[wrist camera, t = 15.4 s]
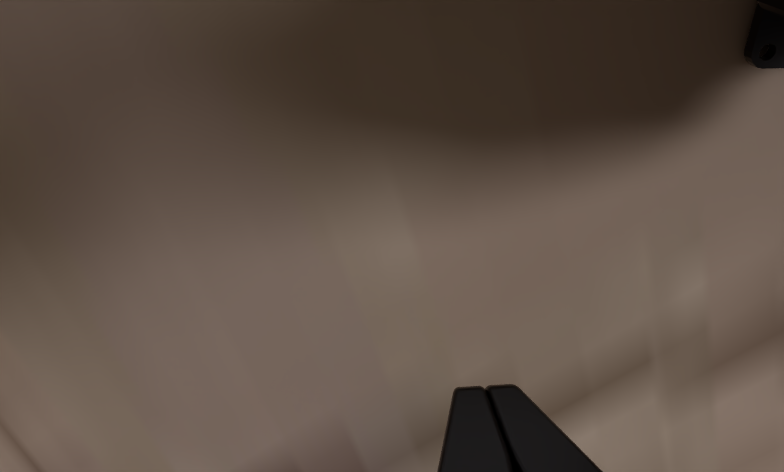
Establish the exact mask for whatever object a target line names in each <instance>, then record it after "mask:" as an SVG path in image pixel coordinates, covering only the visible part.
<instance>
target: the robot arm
mask: <svg viewBox="0 0 784 472" xmlns="http://www.w3.org/2000/svg"><path fill="white" fill-rule="evenodd" d="M757 1H758V4H757V7H756V11H755V14H754V18H753V21H752V25H751V28H750V32H749V36H748V39H747V43H746V46H745V51H744V56H745V59H746V61H747V62H749V63H750V64H752V65H754V66H755V67H758V68H763V69H764V68H784V0H757ZM767 44H769V45H768V50H767V52H766V53H765V54H764V55H763V56H760V57H759V54H760V51H761V49H762V48H763V47H764V46H765V45H767ZM437 472H602V471H601V470H600V469H599V468H598V467H597V466H596V465H595V464H594V463H593V462H592V461H591V460H590V459H589V458H588V457H587V456H586V455H585V454H584V453H583V452H582V451H581V449H580V448H579V447H578V446H577V445H576V444H575V443H574V442H573V441H572V440H571V439H570V438H569V437H568V436H567V435H566V434H565V433H564V432H563V431H562V430H561V429H560V428H559V427H558V426H557V425H556V424H555V423H554V422H553V421H552V420H551V419H550V418H549V417H548V416H547V415H546V414H545V413H544V412H543V411H542V410H541V409H540V408H539V407H538V406H537V405H536V404H535V403H534V402H533V401H532V400H531V399H530V398H529V397H528V396H527V395H526V394H525V393H524V392H523V391H522V390H521V389H520V388H519V387H517V386H516V385H513V384H504V385H490V386H487V387H486V388H485V389H484V388H483V387H481V386H470V387H457V388H456V389H455V390H454V392H453V396H452V401H451V406H450V411H449V416H448V421H447V426H446V431H445V436H444V441H443V446H442V451H441V456H440V461H439V466H438V471H437Z"/></svg>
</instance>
